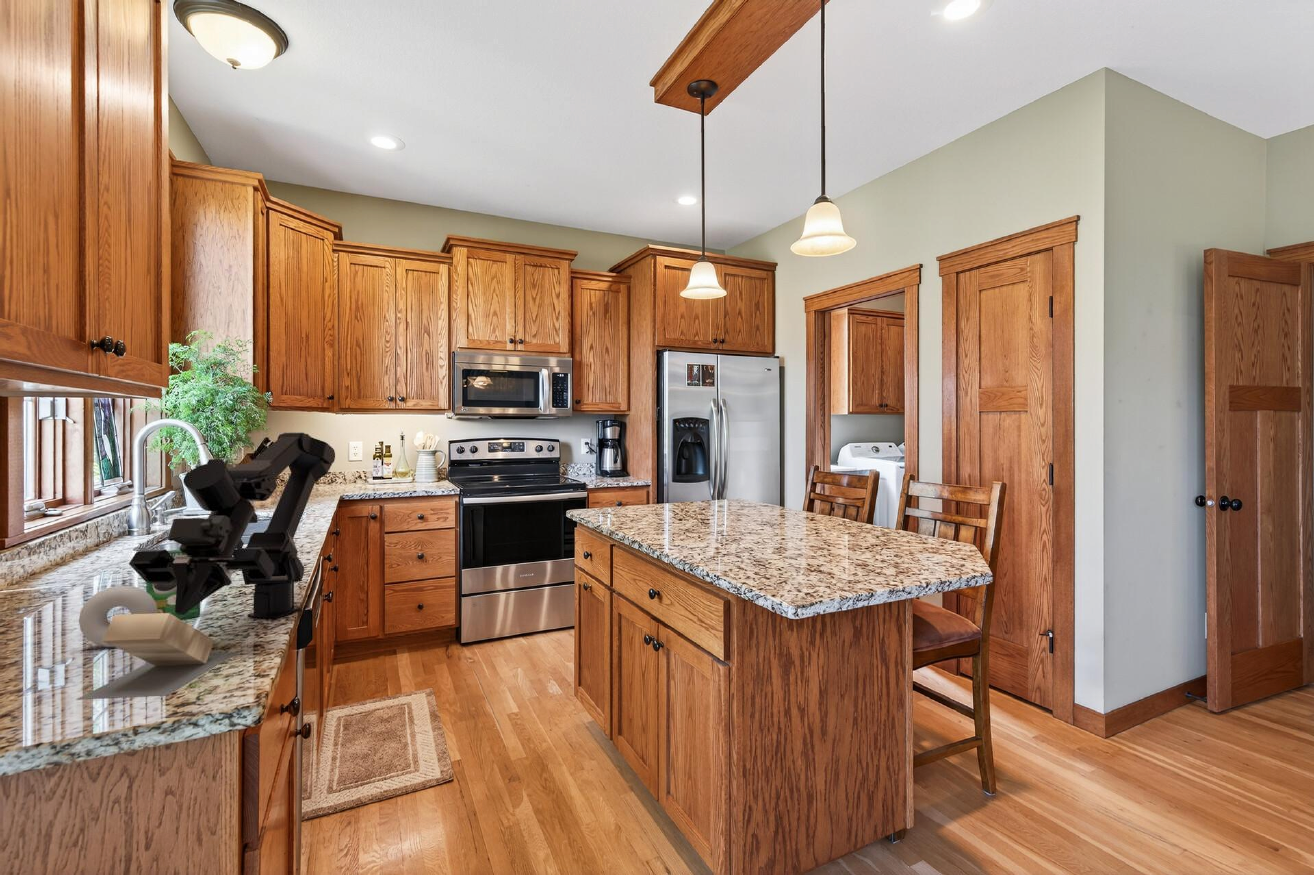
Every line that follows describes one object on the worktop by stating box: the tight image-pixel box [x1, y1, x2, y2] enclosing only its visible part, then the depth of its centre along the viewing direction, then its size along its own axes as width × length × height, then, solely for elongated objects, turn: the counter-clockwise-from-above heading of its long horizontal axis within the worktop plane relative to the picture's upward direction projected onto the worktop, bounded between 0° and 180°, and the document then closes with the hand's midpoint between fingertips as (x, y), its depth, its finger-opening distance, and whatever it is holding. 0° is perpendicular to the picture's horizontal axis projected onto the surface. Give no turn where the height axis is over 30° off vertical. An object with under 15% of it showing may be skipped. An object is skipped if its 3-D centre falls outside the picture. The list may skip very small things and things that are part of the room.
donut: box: [78, 584, 158, 648], centre depth 99 cm, size 10×3×10 cm, turn 114°
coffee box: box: [145, 549, 201, 620], centre depth 114 cm, size 8×3×13 cm, turn 133°
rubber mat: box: [76, 651, 239, 701], centre depth 87 cm, size 16×11×1 cm
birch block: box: [102, 613, 215, 666], centre depth 86 cm, size 4×7×12 cm
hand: (179, 613), depth 90 cm, fingers closed
